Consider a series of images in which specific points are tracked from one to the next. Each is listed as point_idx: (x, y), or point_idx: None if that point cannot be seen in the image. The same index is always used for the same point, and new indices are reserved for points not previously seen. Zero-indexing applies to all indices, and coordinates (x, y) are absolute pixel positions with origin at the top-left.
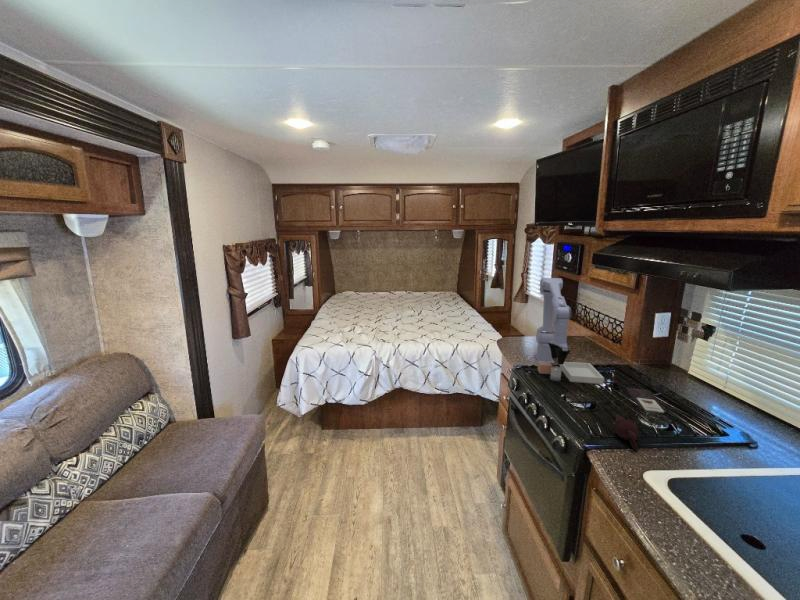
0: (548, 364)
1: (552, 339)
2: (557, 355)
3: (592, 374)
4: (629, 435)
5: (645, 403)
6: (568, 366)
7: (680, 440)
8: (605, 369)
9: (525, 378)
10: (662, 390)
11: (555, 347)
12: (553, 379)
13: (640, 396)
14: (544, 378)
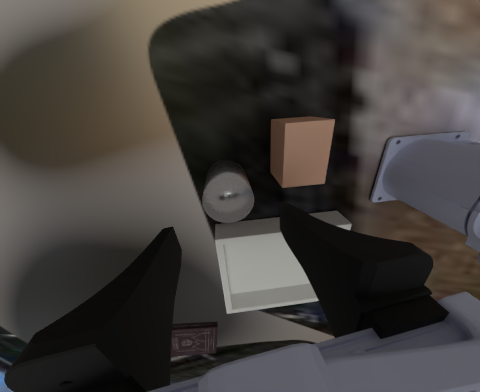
0: (297, 171)
1: (465, 381)
2: (145, 270)
3: (277, 285)
4: None
5: None
6: None
7: (5, 355)
8: (318, 309)
9: (188, 14)
10: (226, 362)
11: (329, 284)
12: (209, 170)
13: (176, 339)
14: (219, 133)
